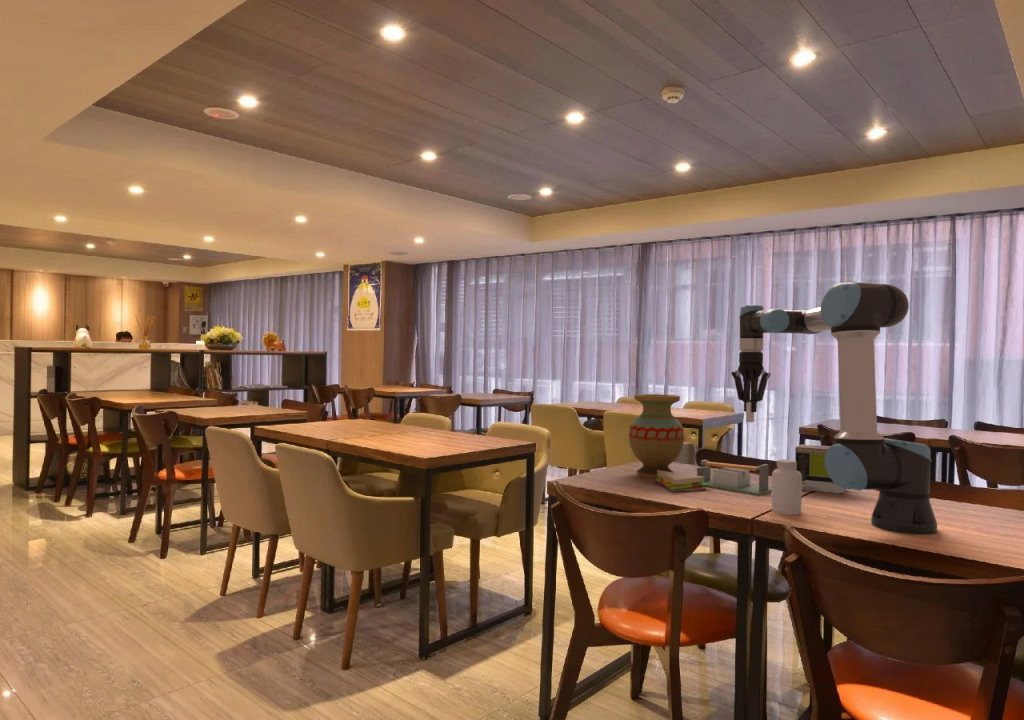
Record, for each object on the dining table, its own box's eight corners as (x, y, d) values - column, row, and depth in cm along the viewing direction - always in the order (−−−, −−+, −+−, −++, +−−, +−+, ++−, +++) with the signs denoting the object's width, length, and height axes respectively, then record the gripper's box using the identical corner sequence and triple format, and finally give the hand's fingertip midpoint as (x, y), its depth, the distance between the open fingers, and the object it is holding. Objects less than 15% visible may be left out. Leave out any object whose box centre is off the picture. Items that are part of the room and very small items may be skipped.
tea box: (846, 490, 233) (847, 446, 232) (843, 495, 224) (844, 449, 224) (799, 485, 241) (800, 443, 241) (794, 489, 232) (795, 446, 232)
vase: (621, 472, 260) (623, 393, 260) (672, 472, 263) (673, 394, 262) (637, 482, 241) (638, 396, 241) (691, 481, 243) (693, 397, 243)
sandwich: (683, 483, 243) (684, 469, 243) (713, 494, 224) (714, 478, 224) (644, 484, 239) (644, 470, 239) (671, 495, 220) (671, 480, 220)
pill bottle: (766, 512, 196) (767, 460, 196) (777, 508, 202) (778, 457, 202) (794, 517, 190) (796, 463, 190) (805, 513, 196) (806, 460, 196)
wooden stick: (698, 466, 240) (698, 460, 240) (703, 465, 243) (703, 459, 243) (755, 472, 225) (755, 466, 225) (760, 471, 228) (760, 465, 228)
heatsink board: (681, 484, 238) (681, 457, 238) (705, 479, 249) (705, 453, 249) (757, 497, 218) (758, 468, 218) (780, 490, 229) (780, 463, 229)
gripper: (775, 351, 227) (773, 422, 227) (738, 351, 236) (737, 419, 237) (764, 351, 222) (763, 424, 222) (727, 351, 231) (726, 421, 231)
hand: (750, 421), depth 229 cm, fingers closed
